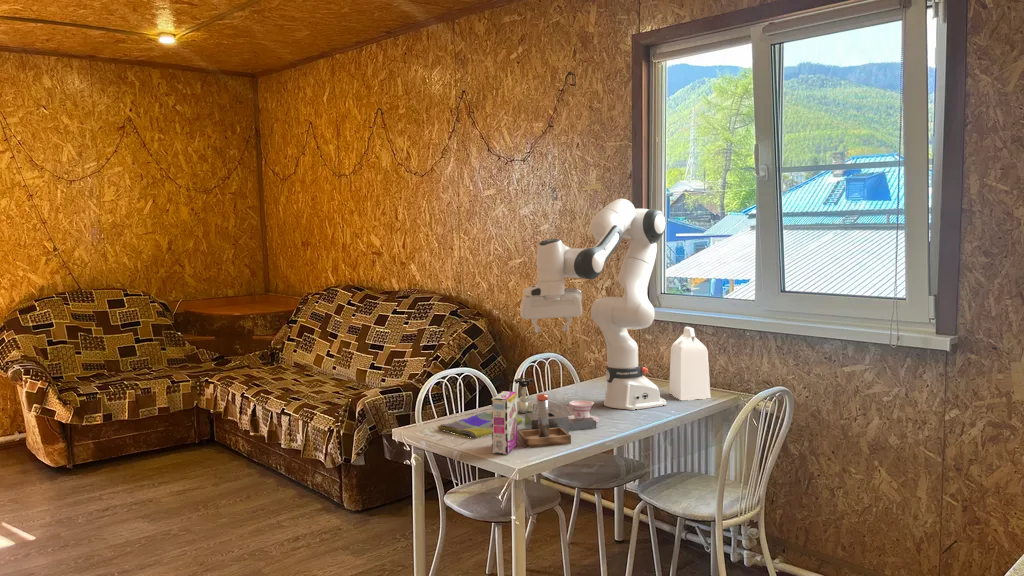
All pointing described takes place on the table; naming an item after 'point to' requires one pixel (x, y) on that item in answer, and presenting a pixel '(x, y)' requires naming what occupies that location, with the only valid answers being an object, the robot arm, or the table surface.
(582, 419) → the hitch block
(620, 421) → the table surface
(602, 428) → the table surface
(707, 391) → the milk
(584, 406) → the teacup
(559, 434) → the tray
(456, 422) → the dish towel
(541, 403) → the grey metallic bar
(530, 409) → the valve
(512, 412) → the candy bar box
